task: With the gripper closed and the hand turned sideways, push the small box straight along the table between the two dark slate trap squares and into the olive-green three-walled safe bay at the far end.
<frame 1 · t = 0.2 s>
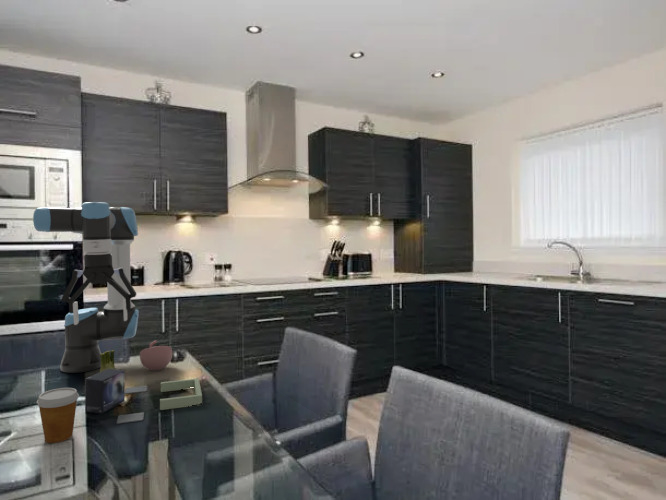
hand: (101, 321, 136), 27 cm above the table, tool pointing down, fingers open, 13 cm apart
small box: (105, 407, 138), on the table
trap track: (153, 400, 143), on the table
disposable coffee cup: (58, 438, 117), on the table
fennel bulb: (107, 384, 158), on the table
mortar and pestle: (156, 370, 175), on the table
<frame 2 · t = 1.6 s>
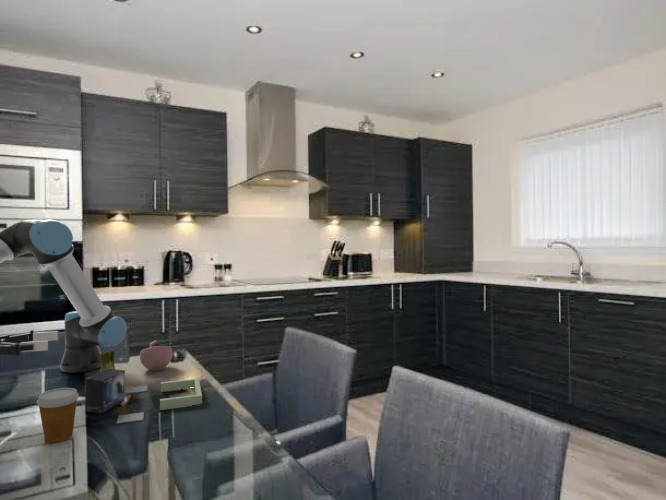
hand: (53, 340, 132), 22 cm above the table, tool horizontal, fingers open, 12 cm apart
nothing on the table moved.
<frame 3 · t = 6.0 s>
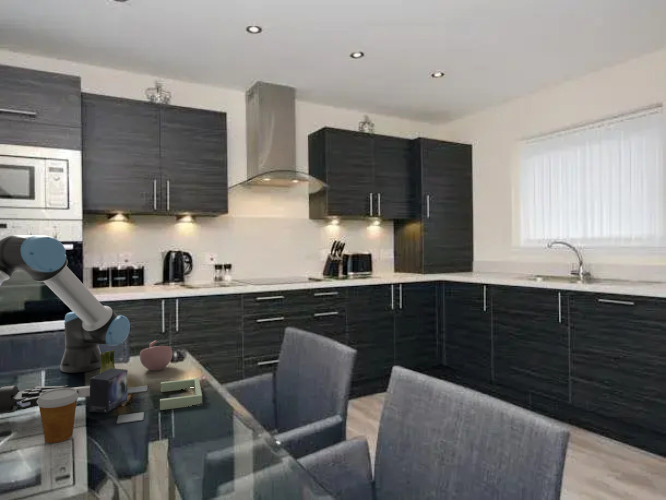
hand: (91, 390, 135), 6 cm above the table, tool horizontal, fingers closed
small box: (109, 406, 139), on the table, touching gripper
everything else where it was.
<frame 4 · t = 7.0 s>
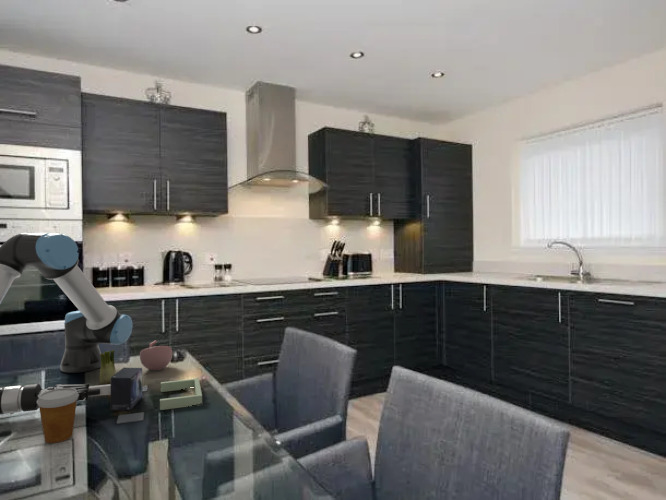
hand: (112, 389, 137), 6 cm above the table, tool horizontal, fingers closed
small box: (127, 405, 140), on the table, touching gripper
everything else where it was.
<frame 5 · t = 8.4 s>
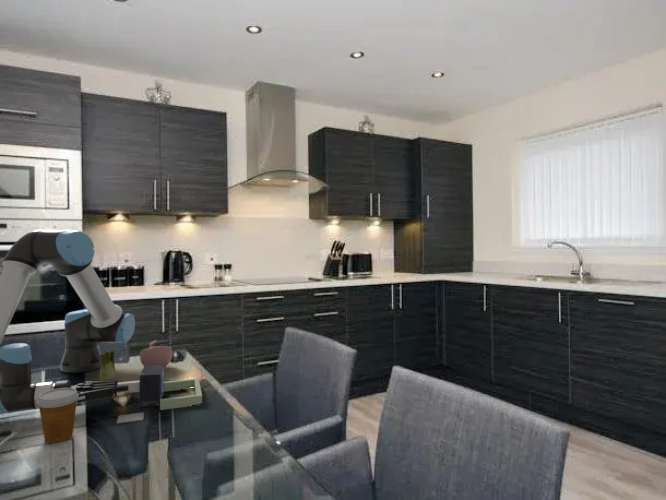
hand: (139, 385, 140), 6 cm above the table, tool horizontal, fingers closed
small box: (152, 401, 143), on the table, touching gripper
everything else where it was.
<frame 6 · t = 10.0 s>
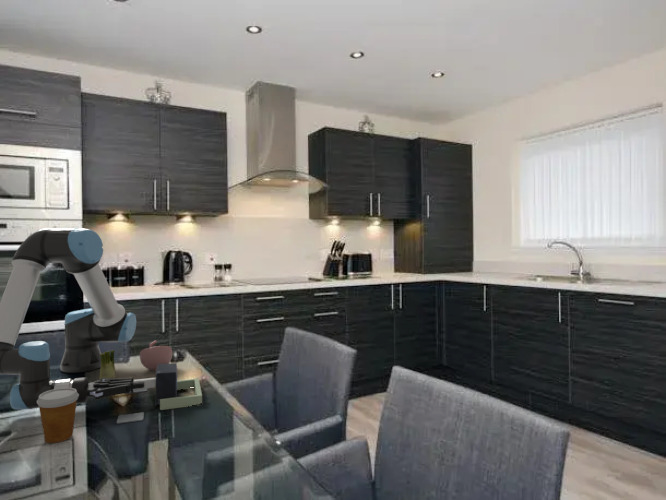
hand: (155, 382, 143), 6 cm above the table, tool horizontal, fingers closed
small box: (166, 399, 145), on the table
everything else where it was.
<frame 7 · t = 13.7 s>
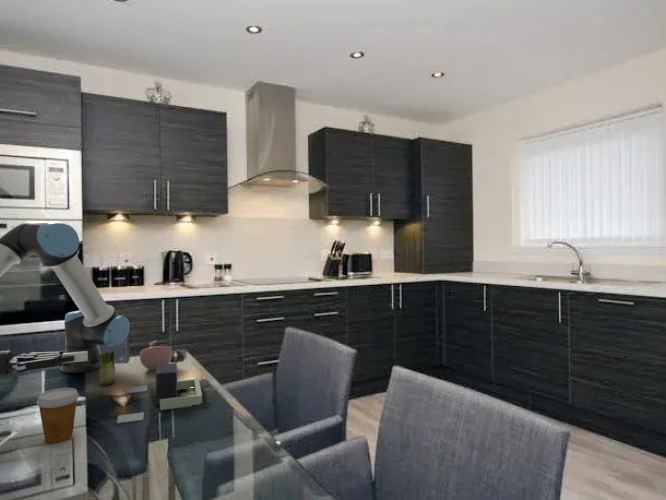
hand: (87, 355, 135), 17 cm above the table, tool horizontal, fingers closed
nothing on the table moved.
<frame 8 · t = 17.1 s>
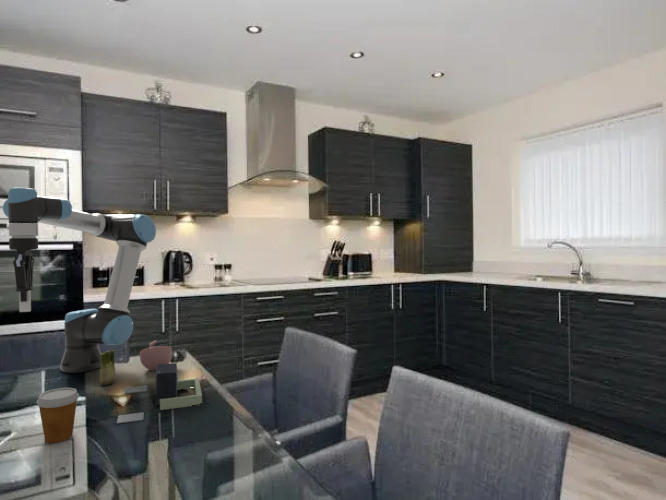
hand: (25, 311, 140), 29 cm above the table, tool pointing down, fingers closed
nothing on the table moved.
at the end: small box inside the target area (2.0 cm from its centre), on the table; small box tilted 0°; small box moved 18.0 cm from its start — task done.
